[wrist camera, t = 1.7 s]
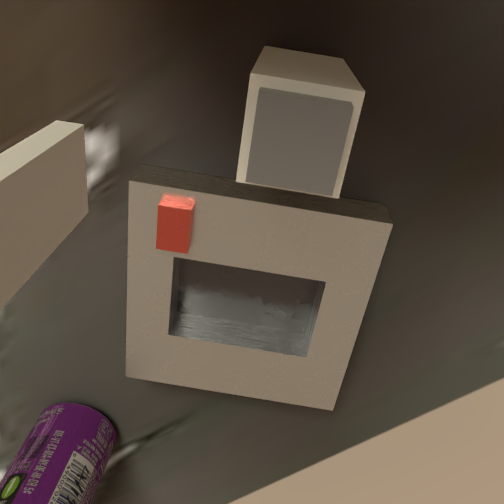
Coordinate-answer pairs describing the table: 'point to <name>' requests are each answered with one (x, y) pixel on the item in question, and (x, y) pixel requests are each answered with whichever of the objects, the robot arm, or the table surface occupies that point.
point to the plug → (299, 122)
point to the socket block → (247, 285)
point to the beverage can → (60, 458)
